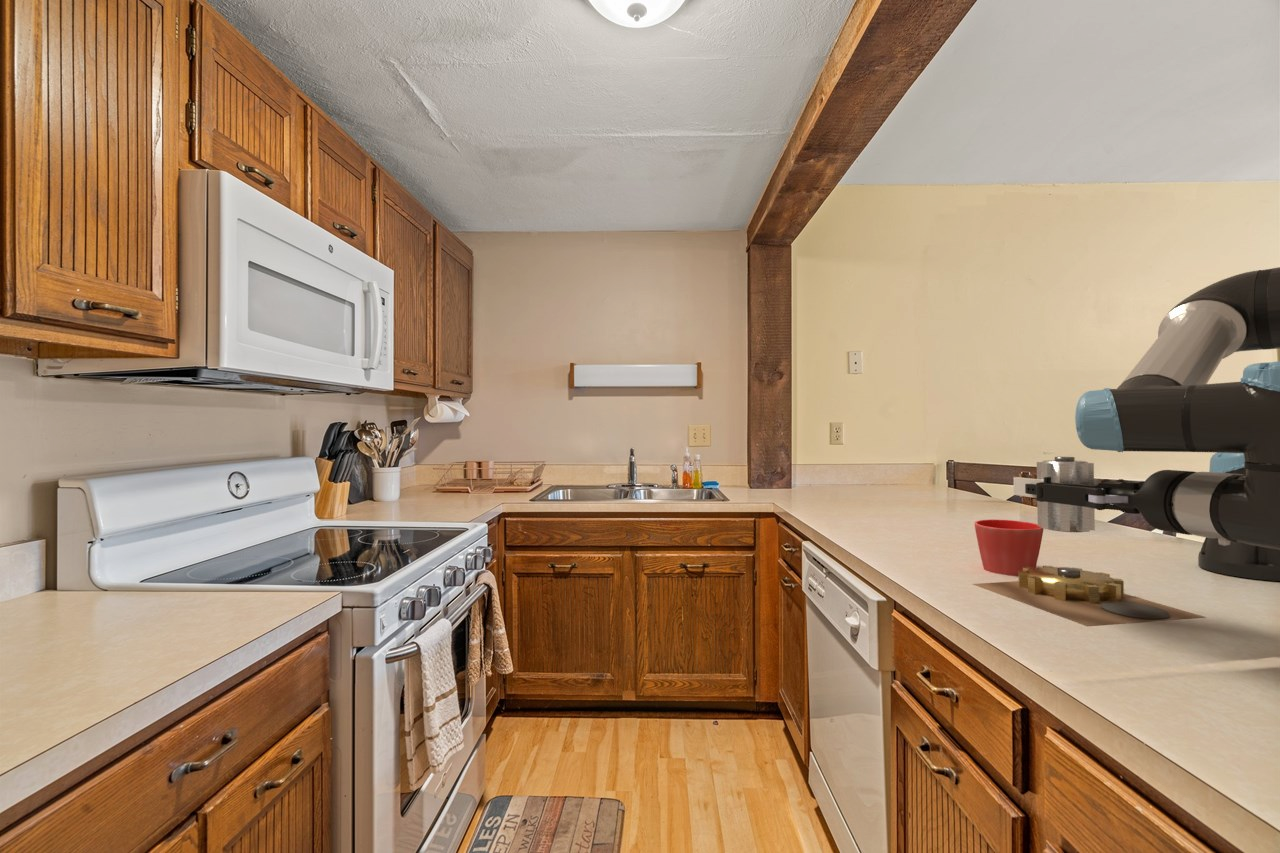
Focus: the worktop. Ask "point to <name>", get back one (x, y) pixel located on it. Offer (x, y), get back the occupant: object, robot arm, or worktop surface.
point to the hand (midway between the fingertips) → (1037, 485)
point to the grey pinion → (1063, 514)
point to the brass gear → (1071, 584)
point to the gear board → (1092, 607)
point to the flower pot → (1008, 545)
